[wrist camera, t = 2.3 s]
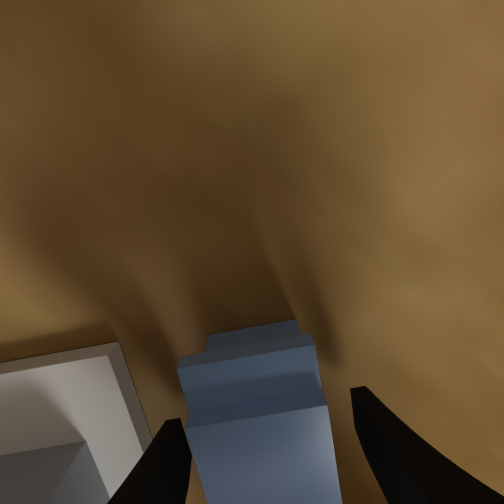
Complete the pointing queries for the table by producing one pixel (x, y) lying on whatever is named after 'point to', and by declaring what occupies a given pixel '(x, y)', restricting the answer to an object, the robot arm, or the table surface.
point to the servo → (260, 418)
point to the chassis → (68, 427)
